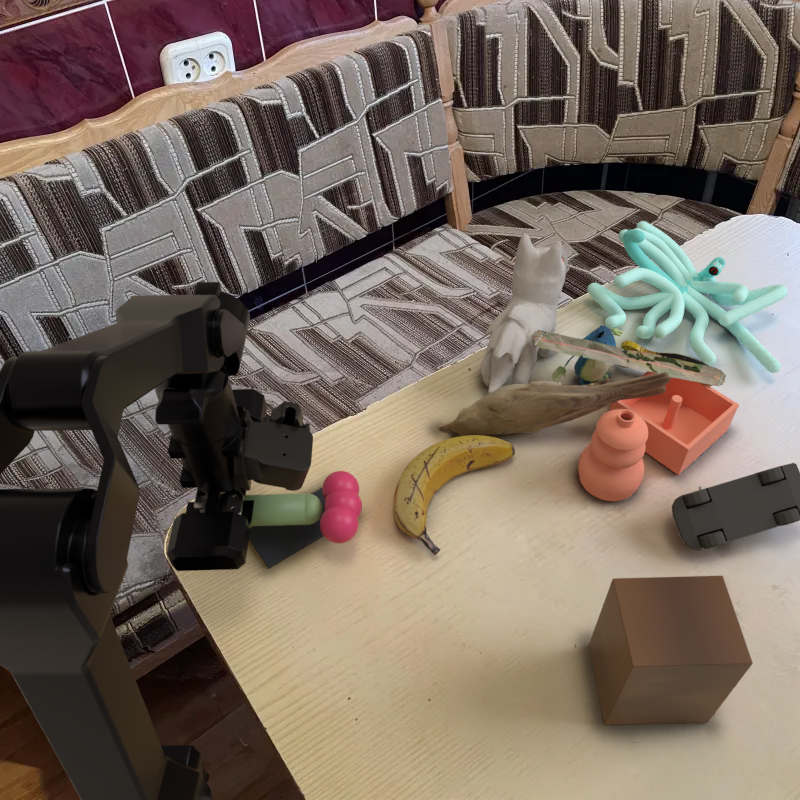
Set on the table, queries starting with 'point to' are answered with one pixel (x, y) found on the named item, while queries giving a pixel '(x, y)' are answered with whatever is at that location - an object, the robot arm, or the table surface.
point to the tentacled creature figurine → (684, 295)
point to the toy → (525, 314)
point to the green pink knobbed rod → (314, 508)
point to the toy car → (738, 507)
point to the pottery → (652, 436)
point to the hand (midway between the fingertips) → (237, 524)
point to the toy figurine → (590, 367)
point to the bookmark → (629, 358)
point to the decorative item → (659, 353)
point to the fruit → (441, 477)
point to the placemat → (284, 538)
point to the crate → (667, 650)
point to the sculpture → (547, 404)
